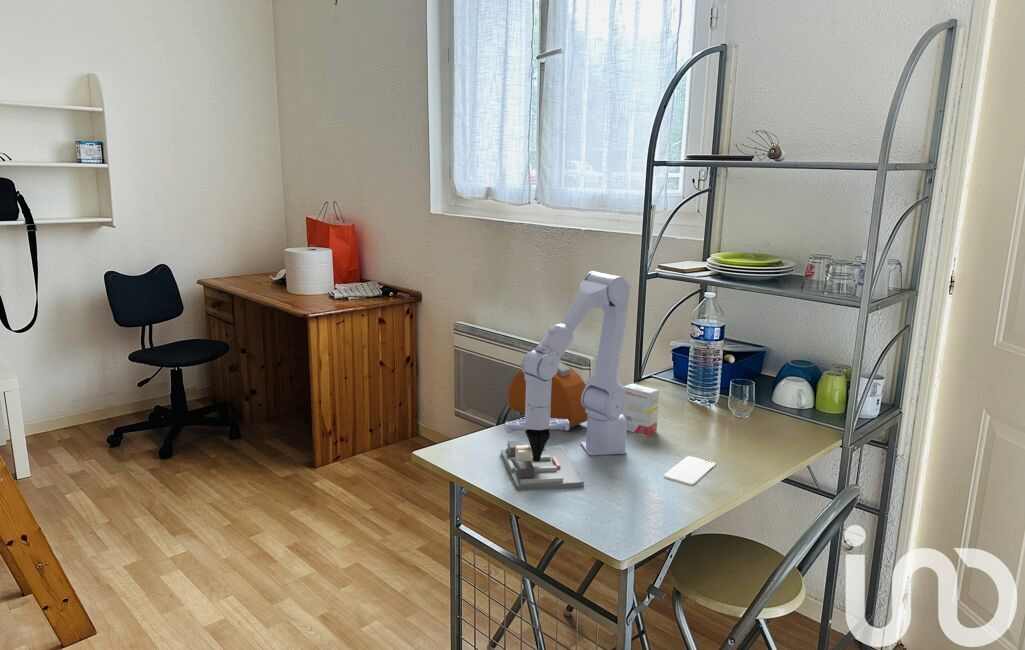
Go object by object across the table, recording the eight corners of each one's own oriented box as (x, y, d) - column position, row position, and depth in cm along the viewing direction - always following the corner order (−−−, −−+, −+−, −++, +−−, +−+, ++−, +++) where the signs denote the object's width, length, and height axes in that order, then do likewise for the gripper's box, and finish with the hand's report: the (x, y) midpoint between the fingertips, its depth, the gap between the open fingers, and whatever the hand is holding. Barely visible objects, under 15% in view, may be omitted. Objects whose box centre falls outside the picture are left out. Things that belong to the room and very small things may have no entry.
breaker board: (561, 451, 186) (561, 435, 185) (583, 487, 167) (584, 469, 166) (500, 454, 183) (501, 438, 182) (516, 491, 164) (517, 473, 163)
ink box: (657, 431, 200) (660, 389, 197) (648, 437, 196) (651, 393, 193) (629, 423, 205) (631, 382, 202) (619, 428, 201) (622, 386, 199)
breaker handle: (527, 461, 176) (528, 444, 175) (531, 468, 172) (532, 450, 171) (515, 461, 175) (515, 444, 174) (518, 468, 171) (519, 451, 170)
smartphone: (717, 463, 180) (692, 484, 168) (716, 466, 181) (692, 487, 169) (688, 455, 184) (662, 475, 173) (687, 458, 185) (662, 478, 173)
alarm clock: (592, 427, 202) (595, 367, 198) (570, 435, 196) (573, 373, 192) (528, 405, 218) (530, 349, 214) (506, 412, 212) (507, 354, 208)
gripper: (564, 396, 176) (562, 451, 179) (503, 398, 173) (502, 454, 176) (572, 406, 169) (570, 463, 172) (509, 409, 166) (507, 466, 170)
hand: (536, 459), depth 174 cm, fingers closed
